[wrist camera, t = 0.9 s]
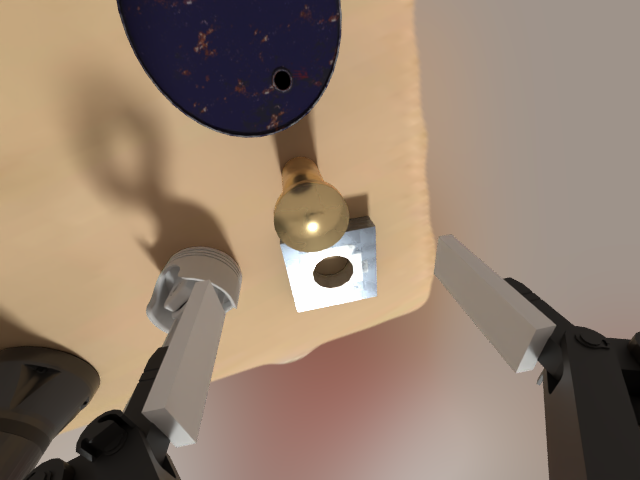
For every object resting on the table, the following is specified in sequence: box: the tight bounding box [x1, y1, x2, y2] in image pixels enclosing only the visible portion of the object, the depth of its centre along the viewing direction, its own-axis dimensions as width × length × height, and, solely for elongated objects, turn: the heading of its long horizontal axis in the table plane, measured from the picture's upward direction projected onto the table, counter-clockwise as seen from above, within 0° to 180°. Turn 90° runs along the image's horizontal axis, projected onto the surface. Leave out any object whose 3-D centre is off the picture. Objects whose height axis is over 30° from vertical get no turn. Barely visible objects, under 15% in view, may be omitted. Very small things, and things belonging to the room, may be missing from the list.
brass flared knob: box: [274, 157, 349, 253], centre depth 26 cm, size 6×6×12 cm
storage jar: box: [117, 0, 342, 138], centre depth 18 cm, size 10×10×15 cm
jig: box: [280, 216, 377, 312], centre depth 36 cm, size 12×12×3 cm
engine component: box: [123, 246, 242, 413], centre depth 28 cm, size 11×20×10 cm
